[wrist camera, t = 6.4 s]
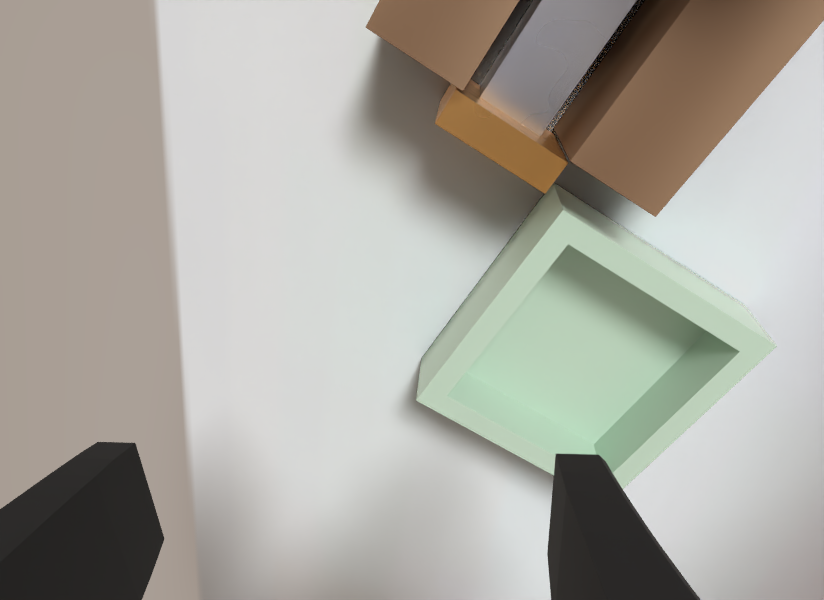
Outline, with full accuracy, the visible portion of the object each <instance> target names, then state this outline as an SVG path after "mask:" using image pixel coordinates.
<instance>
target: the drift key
mask: <svg viewBox="0 0 824 600" xmlns="http://www.w3.org/2000/svg"><path fill="white" fill-rule="evenodd" d="M636 1H637V0H533V1H532V3H531V4H530V6H529V8H528V9H527V11H526V12H525V14H524V15H523V17H522V19H521V20H520V22H519V23H518V25H517V26H516V28H515V30H514V31H513V33H512V34H511V36H510V38H509V39H508V41H507V42H506V44H505V45H504V47H503V49H502V50H501V52H500V53H499V55H498V56H497V58H496V60H495V61H494V63H493V64H492V66H491V67H490V69H489V71H488V72H487V74H486V75H485V77H484V79H483V80H482V82H481V83H480V85H479V84H477V83H476V82H474V81H473V80H471V79H470V80H469V82H468V83H467V85H466V87H465V88H464V90H463V91H462V90H461V89H459V88H457V87H456V86H454V85H453V84H450V86H449V87H448V89H447V91H446V92H445V94H444V95H443V97H442V99H441V100H440V104H439V109H438V113H437V117H436V121H435V124H436V125H438V126H439V127H441V128H442V129H444V130H446V131H447V132H449V133H450V134H452V135H453V136H455V137H457V138H458V139H460V140H461V141H463V142H464V143H466V144H468V145H469V146H471V147H472V148H474V149H475V150H477V151H478V152H480V153H482V154H483V155H485V156H486V157H488V158H489V159H491V160H493V161H494V162H496V163H497V164H499V165H500V166H502V167H504V168H505V169H507V170H508V171H510V172H511V173H513V174H515V175H516V176H518V177H519V178H521V179H522V180H524V181H526V182H527V183H529V184H530V185H532V186H533V187H535V188H537V189H538V190H540V191H541V192H543V193H544V194H545V193H546V192H547V191H548V189H549V188H550V187H551V185H552V184H553V183H554V181H555V180H556V179H557V177H558V176H559V175H560V173H561V172H562V171H563V169H564V168H565V167H566V165H567V164H568V162H567V159H566V157H565V155H564V153H563V151H562V149H561V147H560V145H559V143H558V141H557V139H556V137H555V135H554V134H553V133H552V132H550V131H549V130H547V129H546V128H547V126H548V125H549V124H550V122H551V121H552V119H553V118H554V116H555V115H556V114H557V112H558V111H559V109H560V108H561V107H562V105H563V104H564V102H565V101H566V100H567V98H568V97H569V95H570V94H571V92H572V91H573V90H574V88H575V87H576V85H577V84H578V83H579V81H580V80H581V78H582V77H583V76H584V74H585V73H586V71H587V70H588V69H589V67H590V66H591V64H592V63H593V61H594V60H595V59H596V57H597V56H598V54H599V53H600V52H601V50H602V49H603V47H604V46H605V45H606V43H607V42H608V40H609V39H610V37H611V36H612V35H613V33H614V32H615V30H616V29H617V28H618V26H619V25H620V23H621V22H622V21H623V19H624V18H625V16H626V15H627V13H628V12H629V11H630V9H631V8H632V6H633V5H634V4H635V2H636Z"/></svg>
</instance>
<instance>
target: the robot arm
mask: <svg viewBox="0 0 824 600" xmlns="http://www.w3.org/2000/svg"><path fill="white" fill-rule="evenodd" d="M163 541H164V536H163V533H162V530H161V526H160V523H159V519H158V516H157V513H156V510H155V506H154V503H153V500H152V497H151V493H150V490H149V487H148V483H147V480H146V477H145V474H144V471H143V467H142V464H141V460H140V457H139V454H138V451H137V447H136V444H135V443H114V442H97V443H96V444H94V445H92V446H91V447H89V448H88V449H86V450H84V451H83V452H81V453H80V454H79V455H77V456H75V457H74V458H73V459H71V460H70V461H68V462H67V463H65V464H64V465H62V466H61V467H60V468H58V469H57V470H55V471H54V472H52V473H51V474H49V475H48V476H47V477H45V478H44V479H42V480H41V481H40V482H38V483H37V484H35V485H34V486H33V487H31V488H30V489H28V490H27V491H26V492H24V493H23V494H21V495H20V496H18V497H17V498H16V499H14V500H13V501H11V502H10V503H9V504H7V505H6V506H4V507H3V508H1V509H0V600H142V598H143V595H144V592H145V590H146V587H147V585H148V582H149V580H150V577H151V574H152V572H153V569H154V566H155V564H156V560H157V558H158V555H159V552H160V549H161V547H162V544H163ZM548 565H549V577H550V589H551V600H700V598H699V597H698V596H697V595H696V593H695V592H694V591H693V589H692V588H691V587H690V585H689V584H688V583H687V581H686V580H685V579H684V577H683V576H682V574H681V573H680V572H679V570H678V569H677V568H676V566H675V565H674V564H673V562H672V561H671V560H670V558H669V557H668V556H667V554H666V553H665V551H664V550H663V549H662V547H661V546H660V544H659V543H658V542H657V540H656V539H655V537H654V536H653V535H652V533H651V532H650V530H649V529H648V527H647V526H646V524H645V523H644V521H643V520H642V518H641V517H640V515H639V514H638V512H637V511H636V509H635V508H634V506H633V505H632V503H631V502H630V500H629V499H628V497H627V496H626V494H625V492H624V491H623V489H622V488H621V486H620V484H619V483H618V481H617V479H616V478H615V476H614V475H613V473H612V471H611V470H610V468H609V466H608V464H607V463H606V461H605V460H604V459H603V458H602V457H601V456H600V455H595V454H556V456H555V468H554V480H553V493H552V505H551V517H550V529H549V542H548Z"/></svg>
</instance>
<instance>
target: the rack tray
mask: <svg viewBox="0 0 824 600" xmlns="http://www.w3.org/2000/svg"><path fill="white" fill-rule="evenodd" d="M776 347H777V345H776V344H775V343H774V341H773V340H772V339H771V338H770V336H769V335H768V334H767V333H766V332H765V330H764V329H763V328H762V327H761V325H760V324H759V323H758V322H757V320H756V319H755V318H754V317H753V315H752V314H751V313H750V312H749V310H748V309H747V308H746V307H745V305H743V304H742V303H740V302H738V301H737V300H735V299H734V298H732V297H731V296H729V295H728V294H726V293H724V292H723V291H721V290H720V289H718V288H717V287H715V286H714V285H712V284H710V283H709V282H707V281H706V280H704V279H703V278H701V277H700V276H698V275H696V274H695V273H693V272H692V271H690V270H689V269H687V268H686V267H684V266H682V265H681V264H679V263H678V262H676V261H675V260H673V259H672V258H670V257H668V256H667V255H665V254H664V253H662V252H661V251H659V250H658V249H656V248H654V247H653V246H651V245H650V244H648V243H647V242H645V241H644V240H642V239H640V238H639V237H637V236H636V235H634V234H633V233H631V232H630V231H628V230H626V229H625V228H623V227H622V226H620V225H619V224H617V223H616V222H614V221H612V220H611V219H609V218H608V217H606V216H605V215H603V214H602V213H600V212H598V211H597V210H595V209H594V208H592V207H591V206H589V205H588V204H586V203H584V202H583V201H581V200H580V199H578V198H577V197H575V196H574V195H572V194H571V193H569V192H567V191H566V190H564V189H563V188H561V187H560V186H558V185H557V184H555V183H553V184H552V185H551V187H550V188H549V189H548V191H547V192H546V193H545V194H544V195H543V196H542V197H541V199H540V200H539V201H538V203H537V204H536V205H535V207H534V208H533V209H532V211H531V212H530V213H529V215H528V216H527V217H526V219H525V220H524V222H523V223H522V224H521V226H520V227H519V228H518V230H517V231H516V232H515V234H514V235H513V236H512V238H511V239H510V240H509V242H508V243H507V244H506V246H505V247H504V248H503V250H502V251H501V252H500V254H499V255H498V256H497V258H496V259H495V260H494V262H493V263H492V264H491V266H490V267H489V268H488V270H487V271H486V272H485V274H484V275H483V276H482V278H481V279H480V281H479V282H478V283H477V285H476V286H475V287H474V289H473V290H472V291H471V293H470V294H469V295H468V297H467V298H466V299H465V301H464V302H463V303H462V305H461V306H460V307H459V309H458V310H457V311H456V313H455V314H454V315H453V317H452V318H451V319H450V321H449V322H448V323H447V325H446V326H445V327H444V329H443V330H442V331H441V333H440V334H439V335H438V337H437V338H436V340H435V341H434V342H433V344H432V345H431V346H430V348H429V349H428V350H427V352H426V353H425V354H424V356H423V357H422V359H421V366H420V374H419V382H418V389H417V397H416V401H418V402H420V403H421V404H423V405H425V406H427V407H429V408H431V409H432V410H434V411H436V412H438V413H440V414H442V415H443V416H445V417H447V418H449V419H451V420H453V421H454V422H456V423H458V424H460V425H462V426H464V427H466V428H467V429H469V430H471V431H473V432H475V433H477V434H478V435H480V436H482V437H484V438H486V439H488V440H489V441H491V442H493V443H495V444H497V445H499V446H500V447H502V448H504V449H506V450H508V451H510V452H511V453H513V454H515V455H517V456H519V457H521V458H522V459H524V460H526V461H528V462H530V463H532V464H533V465H535V466H537V467H539V468H541V469H543V470H544V471H546V472H548V473H550V474H552V475H554V468H555V456H556V454H595V455H600V456H601V457H602V458H603V459H604V460H605V461H606V463H607V464H608V466H609V468H610V470H611V471H612V473H613V475H614V476H615V478H616V479H617V481H618V483H619V484H620V486H621V488H622V489H624V488H625V487H626V486H627V485H628V484H629V483H630V482H631V481H632V480H633V479H634V478H635V477H636V476H638V475H639V474H640V473H641V472H642V471H643V470H644V469H645V468H646V467H647V466H648V465H649V464H650V463H652V462H653V461H654V460H655V459H656V458H657V457H658V456H659V455H660V454H661V453H662V452H663V451H664V450H666V449H667V448H668V447H669V446H670V445H671V444H672V443H673V442H674V441H675V440H676V439H677V438H679V437H680V436H681V435H682V434H683V433H684V432H685V431H686V430H687V429H688V428H689V427H690V426H691V425H693V424H694V423H695V422H696V421H697V420H698V419H699V418H700V417H701V416H702V415H703V414H704V413H705V412H707V411H708V410H709V409H710V408H711V407H712V406H713V405H714V404H715V403H716V402H717V401H718V400H720V399H721V398H722V397H723V396H724V395H725V394H726V393H727V392H728V391H729V390H730V389H731V388H732V387H734V386H735V385H736V384H737V383H738V382H739V381H740V380H741V379H742V378H743V377H744V376H745V375H746V374H748V373H749V372H750V371H751V370H752V369H753V368H754V367H755V366H756V365H757V364H758V363H759V362H760V361H762V360H763V359H764V358H765V357H766V356H767V355H768V354H769V353H770V352H771V351H772V350H773V349H775V348H776Z"/></svg>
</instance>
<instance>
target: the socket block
mask: <svg viewBox="0 0 824 600" xmlns="http://www.w3.org/2000/svg"><path fill="white" fill-rule="evenodd" d="M518 2H519V0H380V1H379V3H378V5H377V6H376V8H375V10H374V12H373V14H372V16H371V18H370V20H369V22H368V24H367V26H366V28H367V29H369V30H370V31H372V32H373V33H375V34H376V35H378V36H379V37H381V38H383V39H384V40H386V41H387V42H389V43H390V44H392V45H393V46H395V47H396V48H398V49H399V50H401V51H402V52H404V53H405V54H407V55H409V56H410V57H412V58H413V59H415V60H416V61H418V62H419V63H421V64H422V65H424V66H425V67H427V68H428V69H430V70H431V71H433V72H435V73H436V74H438V75H439V76H441V77H442V78H444V79H445V80H447V81H448V82H450V83H451V84H453V85H454V86H456V87H457V88H459V89H461V90H462V91H463V90H464V88H465V87H466V85H467V83H468V82H469V80H470V79H471V77H472V75H473V74H474V72H475V71H476V69H477V67H478V66H479V64H480V63H481V61H482V59H483V58H484V56H485V55H486V53H487V51H488V50H489V48H490V47H491V45H492V43H493V42H494V40H495V39H496V37H497V35H498V34H499V32H500V31H501V29H502V27H503V26H504V24H505V22H506V21H507V19H508V18H509V16H510V14H511V13H512V11H513V10H514V8H515V6H516V5H517V3H518ZM823 20H824V0H645V1H644V2H643V4H642V5H641V7H640V8H639V9H638V11H637V12H636V14H635V15H634V16H633V18H632V19H631V21H630V22H629V23H628V25H627V26H626V28H625V29H624V30H623V32H622V33H621V35H620V36H619V37H618V39H617V40H616V42H615V43H614V44H613V46H612V47H611V49H610V50H609V51H608V53H607V54H606V56H605V57H604V58H603V60H602V61H601V63H600V64H599V65H598V67H597V68H596V70H595V71H594V72H593V74H592V75H591V77H590V78H589V79H588V81H587V82H586V84H585V85H584V86H583V88H582V89H581V91H580V92H579V93H578V95H577V96H576V98H575V99H574V100H573V102H572V103H571V105H570V106H569V107H568V109H567V110H566V112H565V113H564V114H563V116H562V117H561V119H560V120H559V121H558V123H557V124H556V126H555V127H554V130H555V132H556V134H557V136H558V138H559V140H560V142H561V144H562V146H563V148H564V150H565V152H566V154H567V156H568V158H569V160H570V161H571V162H572V163H574V164H575V165H577V166H578V167H580V168H581V169H583V170H584V171H586V172H587V173H589V174H591V175H592V176H594V177H595V178H597V179H598V180H600V181H601V182H603V183H604V184H606V185H607V186H609V187H610V188H612V189H613V190H615V191H617V192H618V193H620V194H621V195H623V196H624V197H626V198H627V199H629V200H630V201H632V202H633V203H635V204H636V205H638V206H639V207H641V208H643V209H644V210H646V211H647V212H649V213H650V214H652V215H653V216H655V217H656V216H657V215H658V213H659V212H660V211H661V210H662V209H663V207H664V206H665V205H666V204H667V203H668V202H669V200H670V199H671V198H672V197H673V196H674V195H675V193H676V192H677V191H678V190H679V189H680V188H681V186H682V185H683V184H684V183H685V182H686V181H687V179H688V178H689V177H690V176H691V175H692V174H693V172H694V171H695V170H696V169H697V168H698V167H699V165H700V164H701V163H702V162H703V161H704V160H705V158H706V157H707V156H708V155H709V154H710V153H711V151H712V150H713V149H714V148H715V147H716V146H717V144H718V143H719V142H720V141H721V140H722V139H723V137H724V136H725V135H726V134H727V133H728V132H729V130H730V129H731V128H732V127H733V126H734V125H735V123H736V122H737V121H738V120H739V119H740V118H741V116H742V115H743V114H744V113H745V112H746V110H747V109H748V108H749V107H750V106H751V105H752V103H753V102H754V101H755V100H756V99H757V98H758V96H759V95H760V94H761V93H762V92H763V91H764V89H765V88H766V87H767V86H768V85H769V84H770V82H771V81H772V80H773V79H774V78H775V77H776V75H777V74H778V73H779V72H780V71H781V70H782V68H783V67H784V66H785V65H786V64H787V63H788V61H789V60H790V59H791V58H792V57H793V56H794V54H795V53H796V52H797V51H798V50H799V49H800V47H801V46H802V45H803V44H804V43H805V42H806V40H807V39H808V38H809V37H810V36H811V35H812V33H813V32H814V31H815V30H816V29H817V28H818V26H819V25H820V24H821V23H822V22H823Z"/></svg>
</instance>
